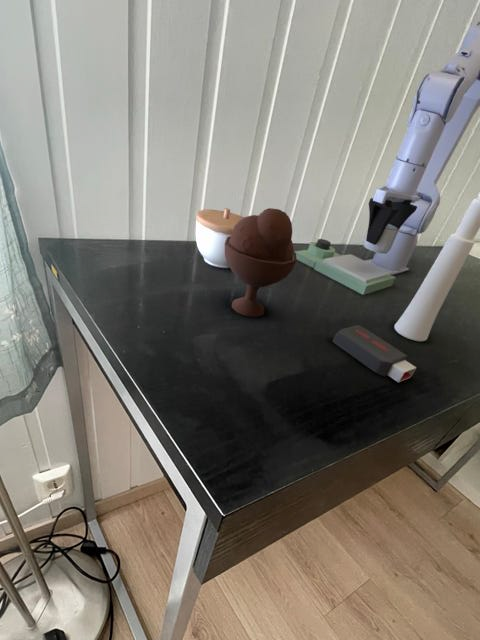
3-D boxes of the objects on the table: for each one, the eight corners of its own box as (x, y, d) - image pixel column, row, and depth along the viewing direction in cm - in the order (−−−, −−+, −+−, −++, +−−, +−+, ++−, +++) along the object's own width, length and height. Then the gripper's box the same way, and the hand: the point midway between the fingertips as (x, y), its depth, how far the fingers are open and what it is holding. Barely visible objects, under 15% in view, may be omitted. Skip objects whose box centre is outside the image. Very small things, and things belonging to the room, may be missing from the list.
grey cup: (370, 242, 81) (379, 219, 78) (393, 252, 79) (403, 229, 76) (357, 244, 77) (366, 220, 74) (380, 255, 75) (391, 231, 72)
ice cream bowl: (279, 301, 66) (306, 206, 56) (279, 331, 58) (310, 226, 48) (220, 287, 65) (236, 189, 55) (211, 316, 57) (228, 206, 47)
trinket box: (180, 256, 72) (185, 201, 66) (213, 247, 80) (221, 197, 73) (225, 277, 69) (234, 222, 63) (255, 266, 76) (267, 215, 70)
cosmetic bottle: (415, 325, 70) (490, 191, 56) (433, 343, 66) (519, 203, 52) (387, 322, 69) (457, 184, 54) (404, 340, 64) (484, 195, 50)
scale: (345, 263, 90) (349, 251, 88) (391, 286, 85) (397, 274, 83) (313, 269, 82) (317, 257, 81) (362, 295, 77) (368, 282, 75)
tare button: (320, 245, 88) (322, 238, 86) (330, 250, 86) (333, 243, 85) (313, 246, 86) (315, 239, 85) (323, 251, 84) (325, 244, 83)
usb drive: (352, 336, 62) (359, 321, 60) (413, 377, 56) (422, 361, 54) (332, 341, 59) (338, 325, 57) (393, 385, 53) (402, 369, 51)
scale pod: (322, 252, 93) (326, 240, 91) (342, 262, 90) (347, 249, 88) (292, 257, 85) (296, 243, 83) (313, 268, 83) (317, 254, 81)
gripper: (414, 167, 62) (378, 252, 71) (446, 170, 71) (410, 245, 80) (378, 155, 65) (347, 238, 74) (412, 160, 74) (381, 233, 83)
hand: (378, 241), depth 77 cm, fingers closed on grey cup, 6 cm apart
